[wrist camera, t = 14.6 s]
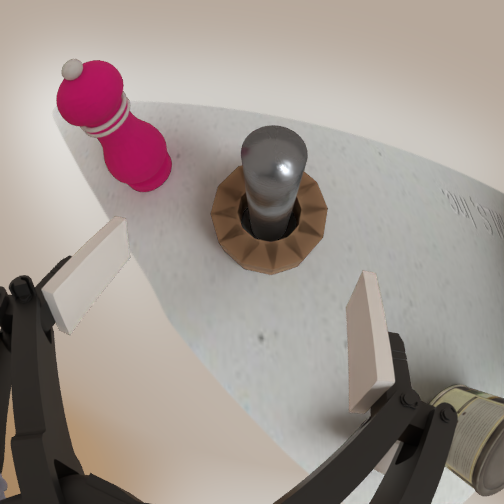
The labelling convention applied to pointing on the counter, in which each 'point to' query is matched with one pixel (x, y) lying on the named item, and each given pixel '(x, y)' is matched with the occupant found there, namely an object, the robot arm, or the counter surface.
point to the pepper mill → (113, 124)
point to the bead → (263, 252)
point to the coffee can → (476, 438)
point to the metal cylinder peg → (272, 178)
